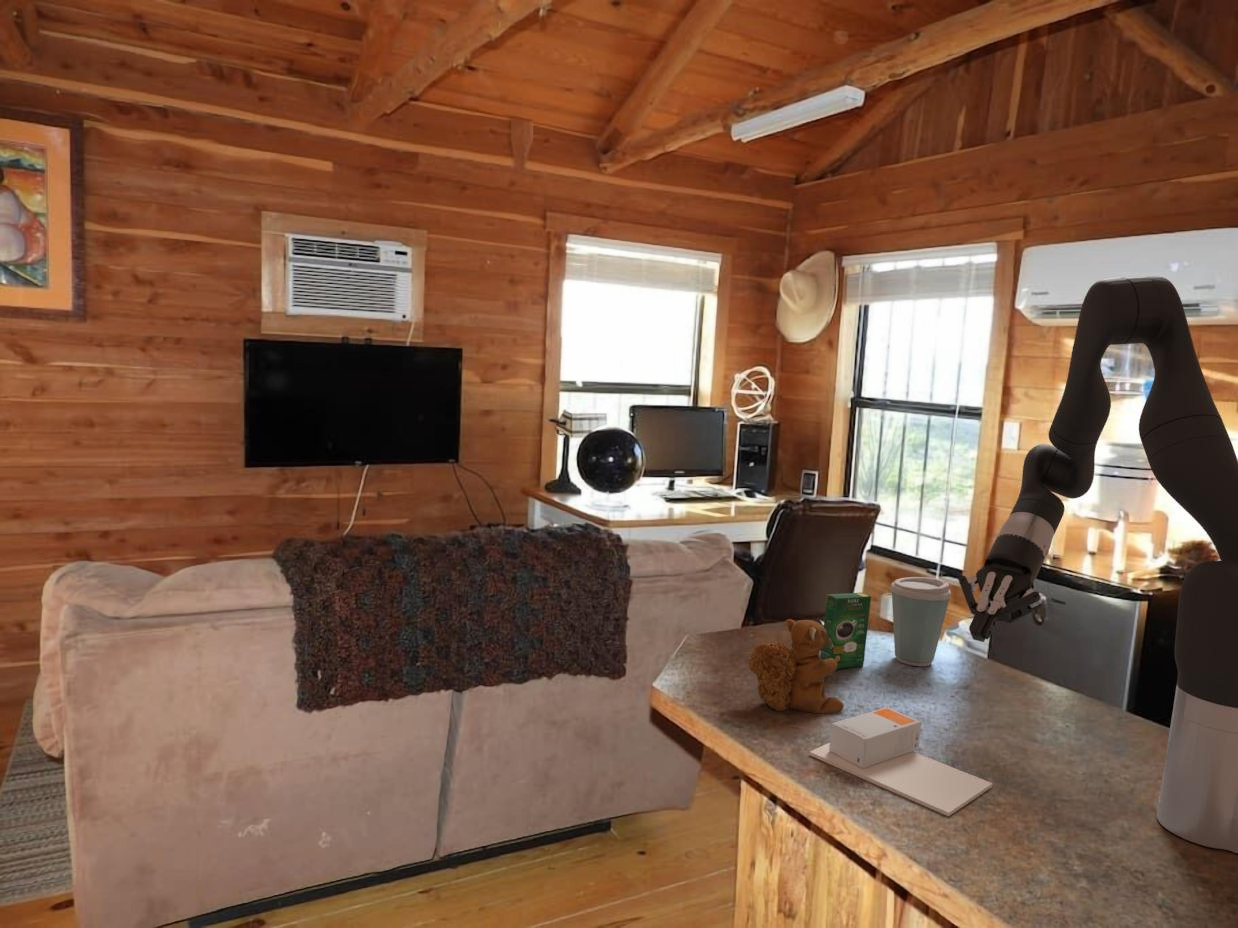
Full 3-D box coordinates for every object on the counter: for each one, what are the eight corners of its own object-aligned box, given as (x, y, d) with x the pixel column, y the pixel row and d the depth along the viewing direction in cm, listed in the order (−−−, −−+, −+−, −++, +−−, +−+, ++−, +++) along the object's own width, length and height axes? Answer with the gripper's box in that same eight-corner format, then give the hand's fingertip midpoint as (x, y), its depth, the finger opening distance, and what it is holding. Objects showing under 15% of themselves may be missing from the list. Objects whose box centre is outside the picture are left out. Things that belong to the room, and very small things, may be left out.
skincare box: (922, 720, 124) (866, 739, 117) (919, 749, 125) (863, 770, 118) (886, 705, 129) (830, 722, 122) (883, 733, 130) (827, 751, 123)
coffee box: (854, 661, 161) (861, 590, 160) (865, 666, 159) (872, 594, 157) (818, 665, 158) (825, 593, 156) (828, 671, 155) (835, 598, 154)
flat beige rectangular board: (992, 786, 116) (992, 783, 116) (948, 816, 108) (948, 812, 108) (857, 732, 131) (857, 729, 131) (809, 755, 122) (809, 751, 122)
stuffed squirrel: (848, 712, 138) (856, 629, 137) (769, 721, 133) (777, 636, 131) (811, 687, 147) (818, 610, 146) (736, 696, 142) (742, 615, 140)
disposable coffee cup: (891, 668, 158) (900, 586, 156) (876, 648, 169) (884, 570, 167) (952, 673, 158) (961, 590, 156) (932, 652, 169) (941, 574, 167)
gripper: (973, 525, 142) (928, 612, 135) (1059, 540, 133) (1015, 634, 126) (984, 554, 147) (941, 640, 140) (1069, 571, 137) (1027, 664, 130)
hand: (976, 637), depth 133 cm, fingers closed
